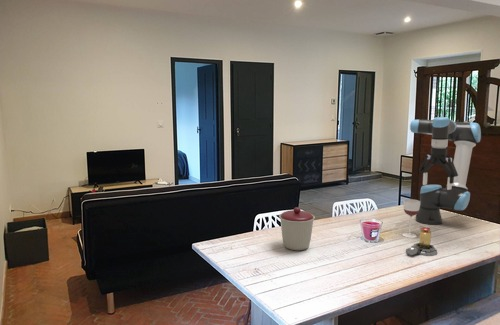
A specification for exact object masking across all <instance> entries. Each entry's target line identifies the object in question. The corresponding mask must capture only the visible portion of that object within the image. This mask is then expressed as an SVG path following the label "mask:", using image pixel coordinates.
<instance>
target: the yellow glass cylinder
mask: <svg viewBox="0 0 500 325" xmlns="http://www.w3.org/2000/svg"><path fill="white" fill-rule="evenodd" d="M420 229H421V230H420V231H419V240H418V243H419V247H420V248H422V249H430V245H431V239H432V232H431V228H430V227H426V226H425V227H424V226H423V227H421V228H420Z"/></svg>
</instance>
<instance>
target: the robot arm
mask: <svg viewBox="0 0 500 325" xmlns="http://www.w3.org/2000/svg"><path fill="white" fill-rule="evenodd" d="M409 129H410V132H411V133H415V134H424V135H431V148H430V154H431V155H430V154H425V156H424V159H423V161H422V163H421V164H420V166H419V168H418V171H419V172H421V178H422V186H421V187H420V192H419V201H420V208H419V212H418V213H417V214H416V215H415V221H416V222H418V223H421V224H424V225H429V226H430V225H431V226H432V225H435V226H436V225H437V226H438V225H442V223H443V217H442V214H441V208H444V209H450V210H454V211H464V210H466V208H467V207H468V205H469V203H470V198H471V192H470V191H468V190H469V189H468V187H467V185H466V184H467V180H468V174H469V169H470V165H471V158H472V153H473V148H474V147H476V145H477V143H480V142H481V140H482V132H481V131H482V130H481V126H480V124H479V123H477V122H471V121H470V122H468V121H467V122H466V121H465V122H463V121H462V122H461V121H458V122H457V121H454V120H453V119H450V118H449V117H446V116H445V117H440V116H438V117H434V118H433V119H413V120H411V121H410V125H409ZM449 141H451V142H453V141H454V142H453V143H454V144H455V151H454V156H453V157H454V158H453V157H447V155H448V143H449ZM429 160H430V162H429ZM434 165H435V166H436V165H437V166H440V167H442V168H443V169H444V171H445V173H446V174H447V175H448V177H447V182H446V183H447V184H446V186H445V188H443V187H442V185H441V184H428V171H429V169H431V168H432V167H433V166H434Z"/></svg>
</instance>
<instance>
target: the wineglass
mask: <svg viewBox="0 0 500 325" xmlns="http://www.w3.org/2000/svg"><path fill="white" fill-rule="evenodd" d="M402 201H403V202H402V203H403V211H404V213H405V214H406V215H408V216H409V227H408V228H409V230H408V232H406V233H404V232H403V233H402V236H403V237H406V238H409V239H412V238H415V239H416V238H417V237H418V236H417V234H416V233H415V234H414V233H411V231H412V230H411V229H412V219H413V218H412V217H413V216H416V214H417V213H418V212H419V208H420V199H419V200H418V199H413V198H405V199H403V200H402Z"/></svg>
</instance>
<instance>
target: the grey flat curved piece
mask: <svg viewBox="0 0 500 325" xmlns="http://www.w3.org/2000/svg"><path fill="white" fill-rule="evenodd" d="M405 253H406V255H407V256H409V257H410V256H414V255H416V254H417V255H419V256H425V257H427V256H428V257H431V256H436V255H437V254H438V250H437V249H436V248H435V246H434V245H432V244H430V249H422V248H420V247H419V242H416V243H413V245H411V246H410V247H408V248H406V249H405Z"/></svg>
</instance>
